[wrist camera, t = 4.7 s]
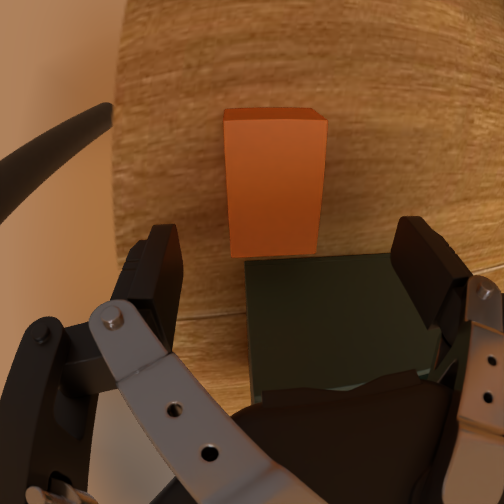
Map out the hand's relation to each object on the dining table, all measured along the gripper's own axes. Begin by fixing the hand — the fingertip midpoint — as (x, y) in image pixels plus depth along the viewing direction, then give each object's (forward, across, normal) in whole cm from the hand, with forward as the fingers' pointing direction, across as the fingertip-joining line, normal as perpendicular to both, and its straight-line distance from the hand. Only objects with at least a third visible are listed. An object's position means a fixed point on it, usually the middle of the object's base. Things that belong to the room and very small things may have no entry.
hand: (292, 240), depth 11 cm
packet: (+7, 0, 0) cm, 7 cm away
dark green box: (+7, -5, +12) cm, 15 cm away
